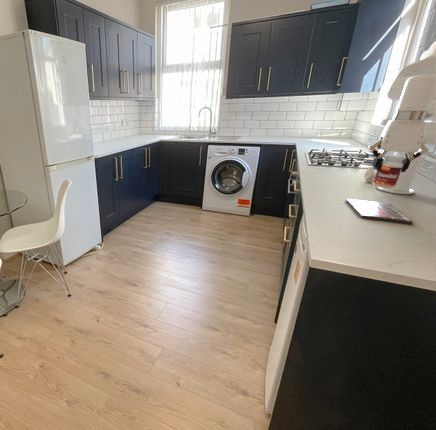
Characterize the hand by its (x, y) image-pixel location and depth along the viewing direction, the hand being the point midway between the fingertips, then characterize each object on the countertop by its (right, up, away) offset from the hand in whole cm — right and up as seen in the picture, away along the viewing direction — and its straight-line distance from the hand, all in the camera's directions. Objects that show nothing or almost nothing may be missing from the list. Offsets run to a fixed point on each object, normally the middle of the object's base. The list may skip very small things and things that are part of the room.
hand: (389, 169), depth 99 cm
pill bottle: (0, -6, +2) cm, 6 cm away
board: (+3, -15, +9) cm, 18 cm away
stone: (+39, +1, +48) cm, 62 cm away
